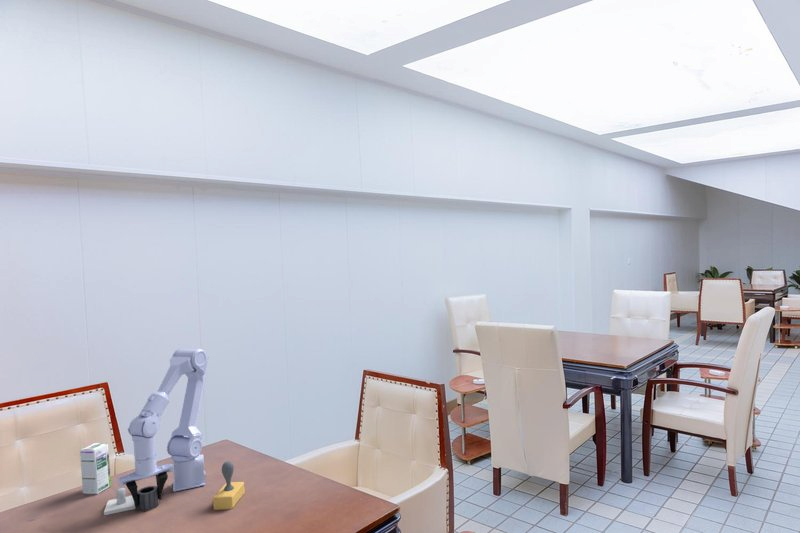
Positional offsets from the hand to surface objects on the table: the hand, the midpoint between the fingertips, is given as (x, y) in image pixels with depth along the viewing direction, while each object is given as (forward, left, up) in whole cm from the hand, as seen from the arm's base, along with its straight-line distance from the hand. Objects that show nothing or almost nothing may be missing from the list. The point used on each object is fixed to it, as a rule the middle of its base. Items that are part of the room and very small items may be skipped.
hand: (147, 501), depth 146 cm
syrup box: (+17, -21, -2) cm, 27 cm away
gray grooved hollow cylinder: (0, 0, -1) cm, 1 cm away
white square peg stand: (+8, -4, -1) cm, 9 cm away
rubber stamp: (-22, +9, -2) cm, 24 cm away
